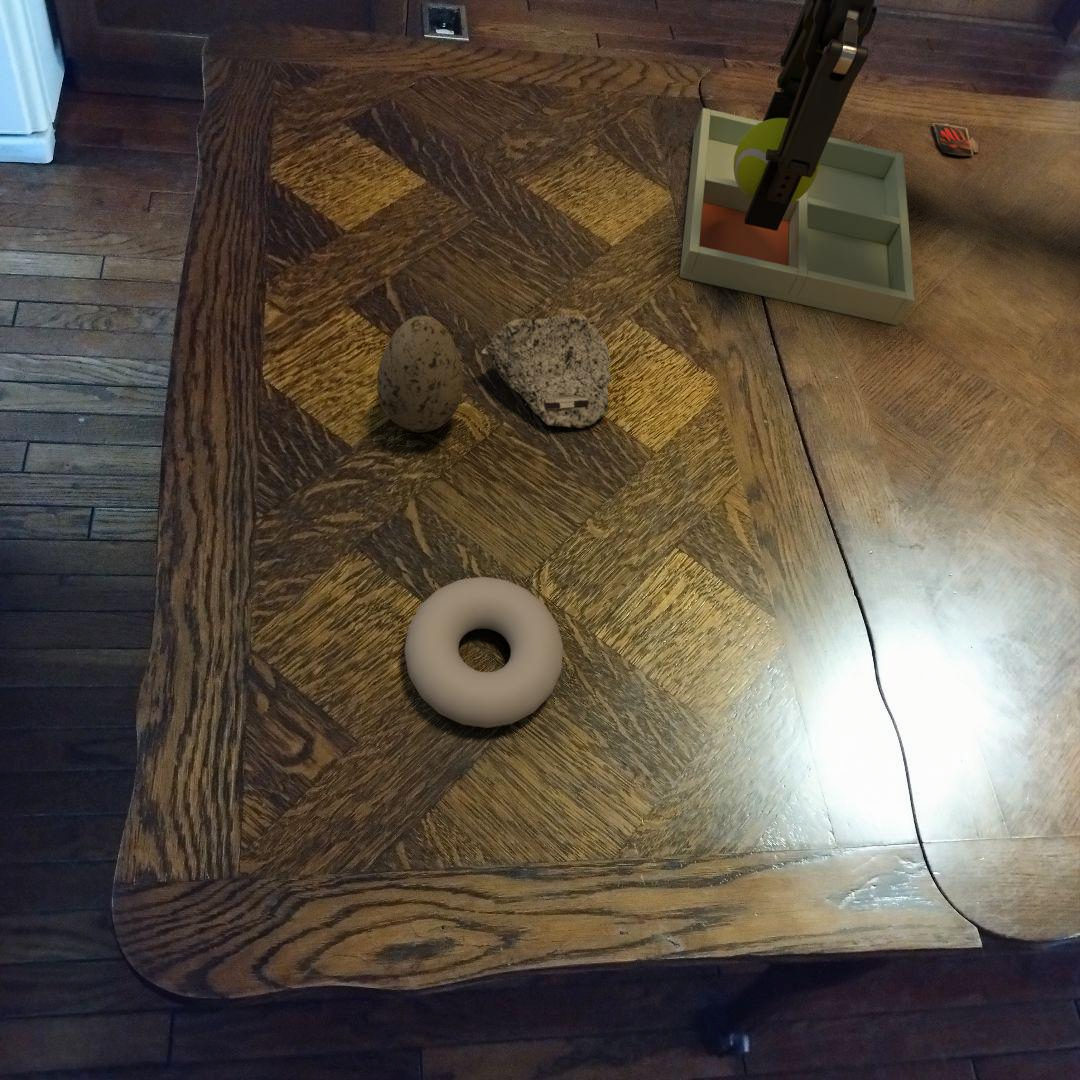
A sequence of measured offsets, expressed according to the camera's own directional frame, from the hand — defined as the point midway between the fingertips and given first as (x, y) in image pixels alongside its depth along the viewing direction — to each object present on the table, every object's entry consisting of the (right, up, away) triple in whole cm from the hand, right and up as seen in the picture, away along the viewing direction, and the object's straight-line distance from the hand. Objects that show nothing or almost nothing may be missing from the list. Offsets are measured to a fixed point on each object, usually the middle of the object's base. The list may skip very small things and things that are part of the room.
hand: (762, 193), depth 82 cm
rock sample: (-17, -17, -6) cm, 25 cm away
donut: (-22, -36, -18) cm, 46 cm away
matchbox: (+24, +12, +18) cm, 32 cm away
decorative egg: (-27, -20, -9) cm, 35 cm away
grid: (+4, 0, +8) cm, 9 cm away
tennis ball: (0, 0, 0) cm, 1 cm away
